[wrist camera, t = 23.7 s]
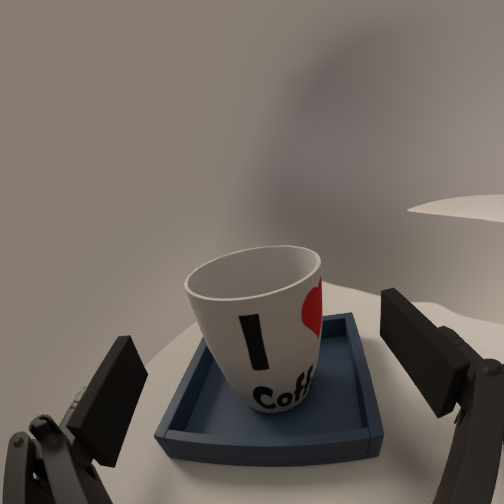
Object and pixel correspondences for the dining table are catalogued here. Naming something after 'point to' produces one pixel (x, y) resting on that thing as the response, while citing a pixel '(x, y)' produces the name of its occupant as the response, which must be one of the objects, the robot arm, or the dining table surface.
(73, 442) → the robot arm
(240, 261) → the cup
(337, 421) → the tray
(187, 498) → the dining table surface
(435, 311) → the dining table surface
